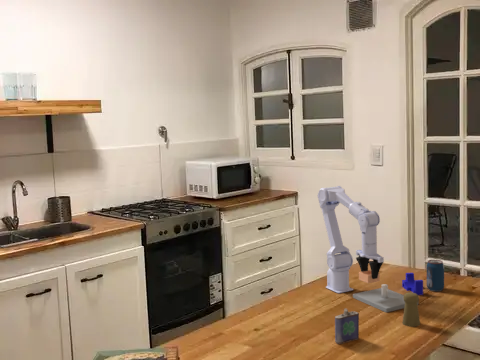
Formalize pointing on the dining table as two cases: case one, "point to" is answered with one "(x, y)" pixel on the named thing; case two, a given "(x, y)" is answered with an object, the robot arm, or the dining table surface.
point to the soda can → (435, 275)
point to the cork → (411, 310)
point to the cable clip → (413, 284)
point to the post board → (382, 299)
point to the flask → (346, 327)
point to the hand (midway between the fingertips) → (369, 276)
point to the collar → (368, 277)
